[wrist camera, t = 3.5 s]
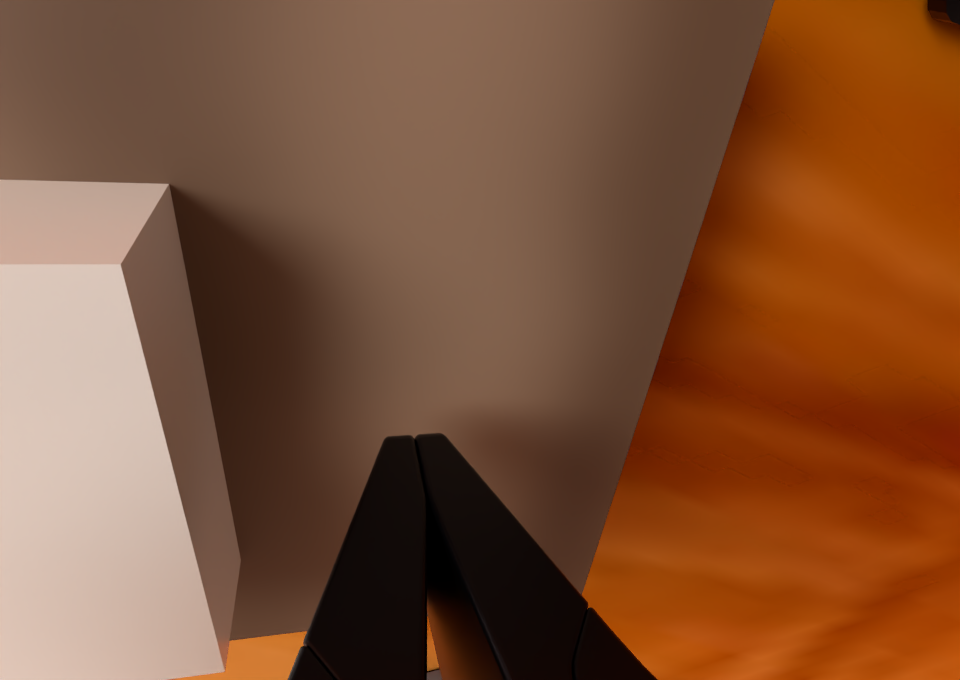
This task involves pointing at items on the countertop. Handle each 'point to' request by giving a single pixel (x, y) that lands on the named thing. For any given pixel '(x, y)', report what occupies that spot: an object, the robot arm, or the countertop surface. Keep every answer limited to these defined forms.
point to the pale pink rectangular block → (106, 444)
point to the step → (400, 231)
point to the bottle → (434, 675)
